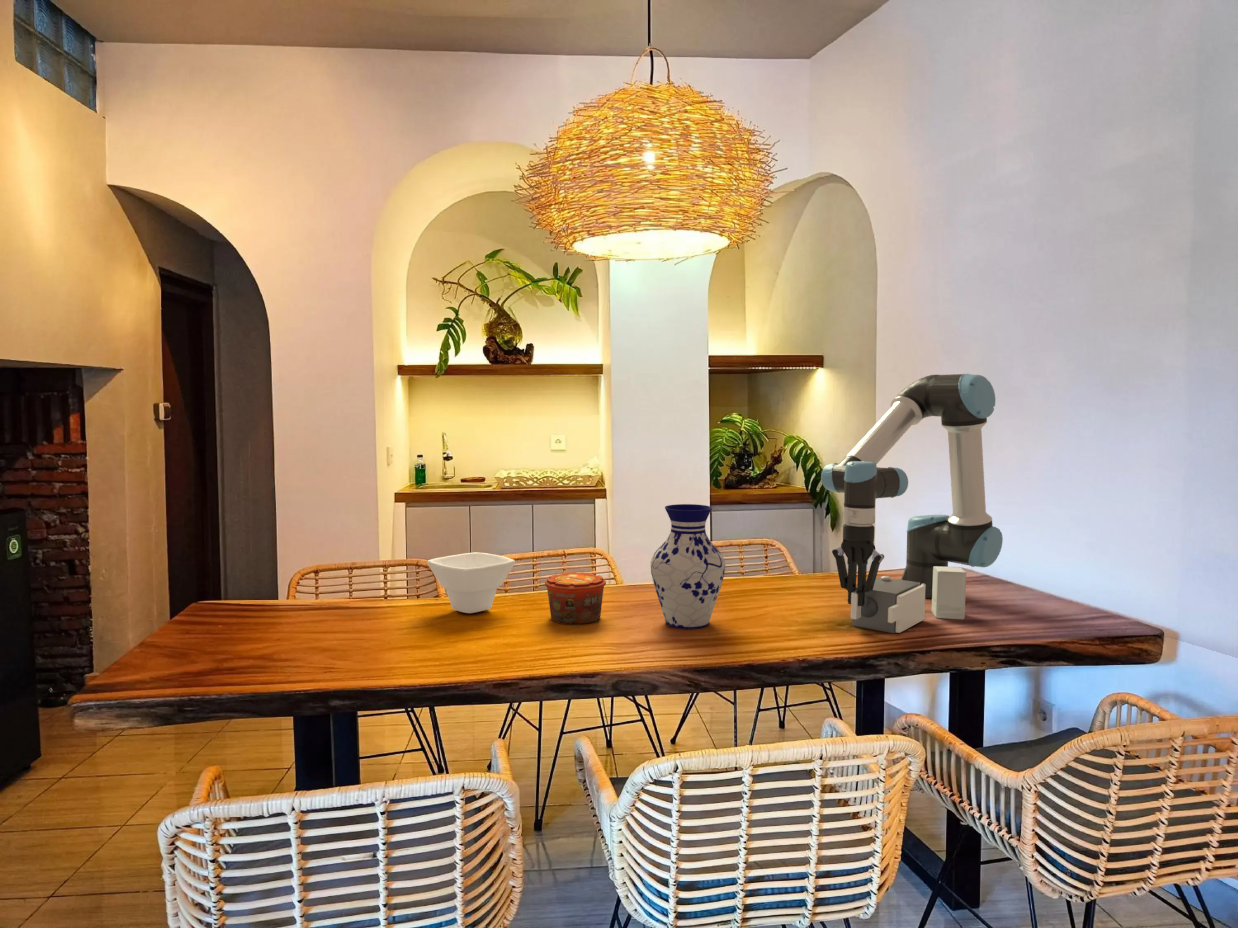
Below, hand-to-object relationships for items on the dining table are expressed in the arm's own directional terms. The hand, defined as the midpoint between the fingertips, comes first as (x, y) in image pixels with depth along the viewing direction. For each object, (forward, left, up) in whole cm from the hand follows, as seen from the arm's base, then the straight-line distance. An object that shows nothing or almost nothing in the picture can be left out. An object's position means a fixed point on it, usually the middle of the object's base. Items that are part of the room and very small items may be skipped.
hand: (855, 617), depth 214 cm
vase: (+22, -35, -3) cm, 42 cm away
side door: (-9, +9, -3) cm, 14 cm away
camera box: (-12, +3, -3) cm, 12 cm away
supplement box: (-30, +13, -3) cm, 32 cm away
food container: (+37, -60, -3) cm, 71 cm away
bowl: (+50, -86, -3) cm, 100 cm away
